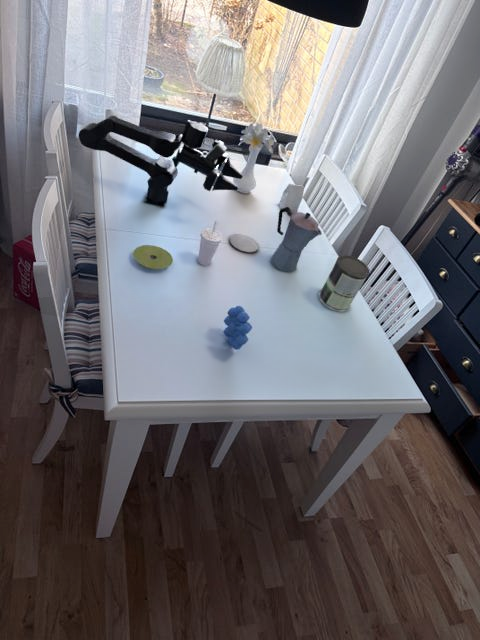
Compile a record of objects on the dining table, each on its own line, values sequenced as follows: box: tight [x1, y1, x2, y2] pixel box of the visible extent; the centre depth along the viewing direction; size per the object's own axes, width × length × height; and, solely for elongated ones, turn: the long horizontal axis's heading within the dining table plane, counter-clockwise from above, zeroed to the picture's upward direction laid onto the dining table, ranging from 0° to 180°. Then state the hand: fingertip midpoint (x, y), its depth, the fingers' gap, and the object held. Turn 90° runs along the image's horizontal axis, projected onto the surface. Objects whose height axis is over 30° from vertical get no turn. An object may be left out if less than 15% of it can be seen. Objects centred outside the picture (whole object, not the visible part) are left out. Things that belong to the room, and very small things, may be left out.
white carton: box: [278, 183, 305, 212], centre depth 185 cm, size 4×7×10 cm, turn 107°
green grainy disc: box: [132, 244, 174, 270], centre depth 137 cm, size 11×11×2 cm
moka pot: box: [270, 207, 322, 273], centre depth 151 cm, size 10×15×20 cm, turn 58°
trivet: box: [228, 233, 259, 254], centre depth 158 cm, size 10×10×1 cm
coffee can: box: [318, 254, 370, 313], centre depth 145 cm, size 10×10×14 cm
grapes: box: [222, 305, 253, 350], centre depth 118 cm, size 12×7×12 cm, turn 18°
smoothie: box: [197, 220, 223, 266], centre depth 140 cm, size 6×6×14 cm
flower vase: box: [232, 122, 275, 194], centre depth 181 cm, size 13×18×25 cm
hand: (239, 183), depth 154 cm, fingers open, 9 cm apart
